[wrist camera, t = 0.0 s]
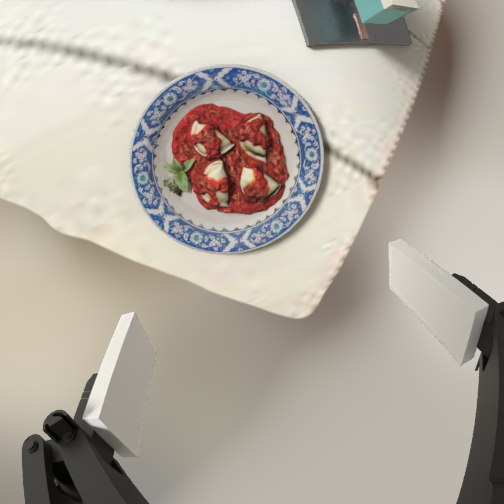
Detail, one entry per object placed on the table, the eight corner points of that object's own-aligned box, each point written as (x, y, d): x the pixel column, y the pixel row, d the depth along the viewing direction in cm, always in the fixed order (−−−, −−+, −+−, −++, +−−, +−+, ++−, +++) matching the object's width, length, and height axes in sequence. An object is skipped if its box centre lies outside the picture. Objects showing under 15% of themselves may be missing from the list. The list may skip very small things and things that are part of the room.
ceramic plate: (321, 73, 35) (328, 70, 32) (312, 246, 44) (318, 253, 42) (133, 74, 32) (126, 70, 29) (141, 251, 42) (136, 259, 39)
